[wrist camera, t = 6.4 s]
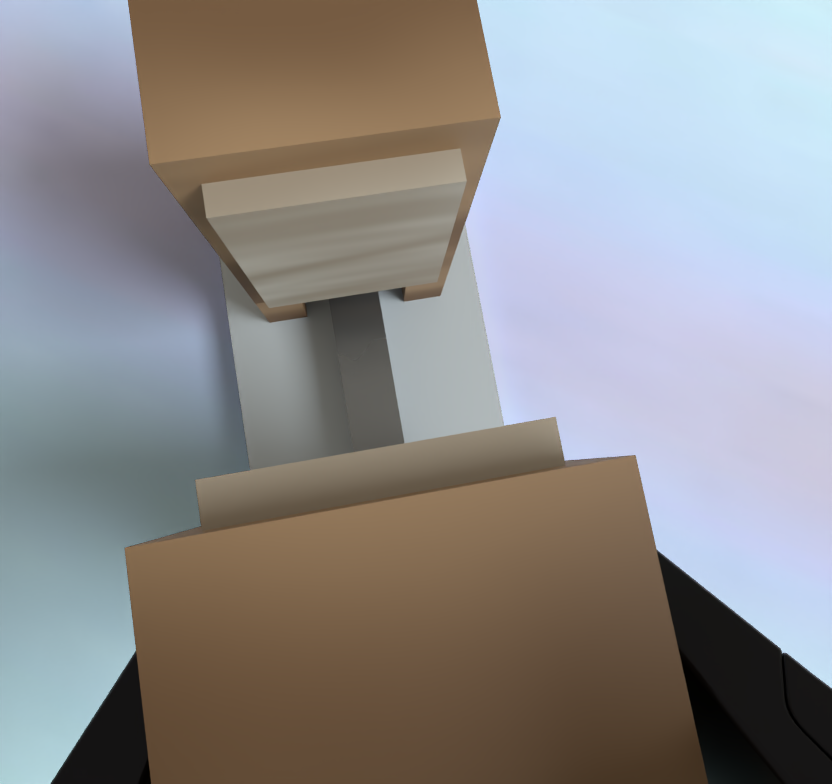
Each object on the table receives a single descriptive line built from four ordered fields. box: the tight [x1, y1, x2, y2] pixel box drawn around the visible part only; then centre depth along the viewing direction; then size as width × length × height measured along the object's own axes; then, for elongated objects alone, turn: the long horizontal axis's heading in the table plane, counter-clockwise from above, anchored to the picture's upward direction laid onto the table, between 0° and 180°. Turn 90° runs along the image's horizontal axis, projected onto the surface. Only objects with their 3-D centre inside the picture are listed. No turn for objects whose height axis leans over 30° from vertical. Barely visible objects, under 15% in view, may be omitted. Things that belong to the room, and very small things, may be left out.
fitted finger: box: [128, 0, 501, 323], centre depth 15 cm, size 5×6×10 cm
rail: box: [329, 291, 405, 452], centre depth 18 cm, size 19×2×1 cm, turn 10°
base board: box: [219, 225, 504, 470], centre depth 19 cm, size 20×8×1 cm, turn 10°
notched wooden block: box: [125, 417, 708, 784], centre depth 11 cm, size 5×6×10 cm
